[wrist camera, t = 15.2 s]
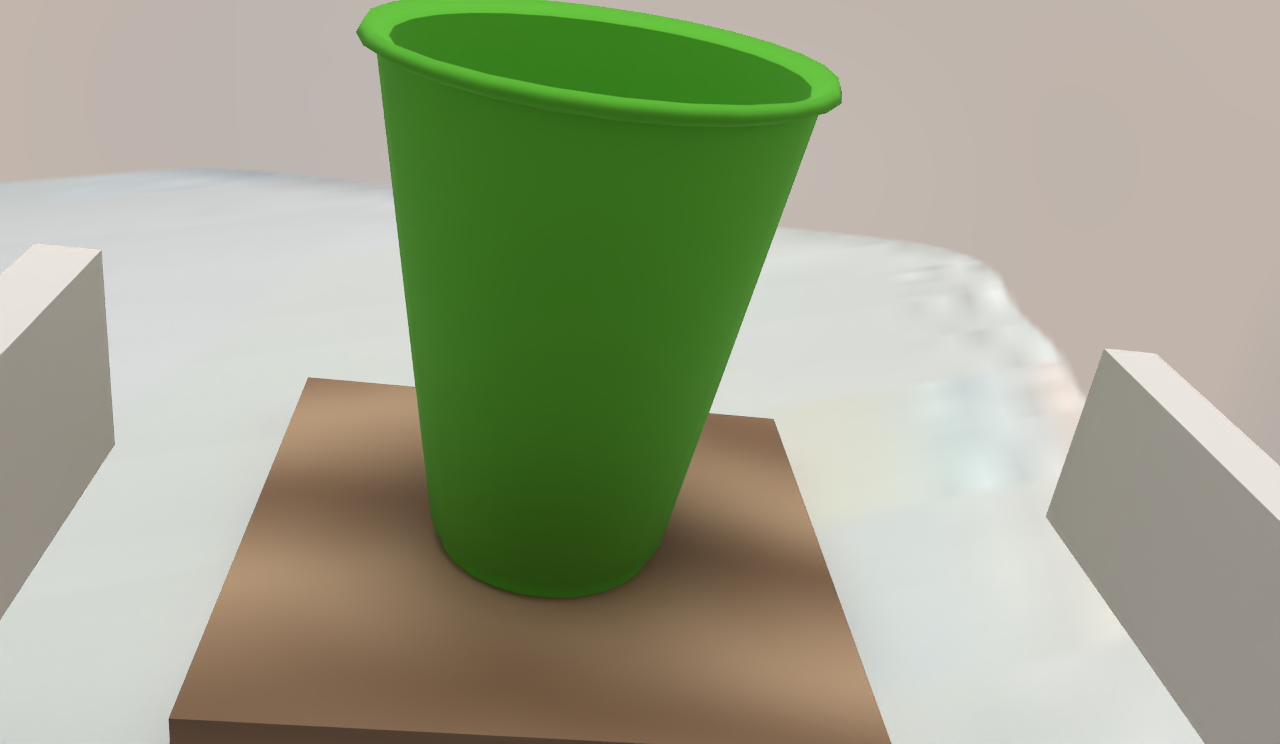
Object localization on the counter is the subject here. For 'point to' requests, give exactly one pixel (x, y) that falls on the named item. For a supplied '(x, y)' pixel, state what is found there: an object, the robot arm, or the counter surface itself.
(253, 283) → the counter surface
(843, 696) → the board
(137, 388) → the counter surface
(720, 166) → the cup
